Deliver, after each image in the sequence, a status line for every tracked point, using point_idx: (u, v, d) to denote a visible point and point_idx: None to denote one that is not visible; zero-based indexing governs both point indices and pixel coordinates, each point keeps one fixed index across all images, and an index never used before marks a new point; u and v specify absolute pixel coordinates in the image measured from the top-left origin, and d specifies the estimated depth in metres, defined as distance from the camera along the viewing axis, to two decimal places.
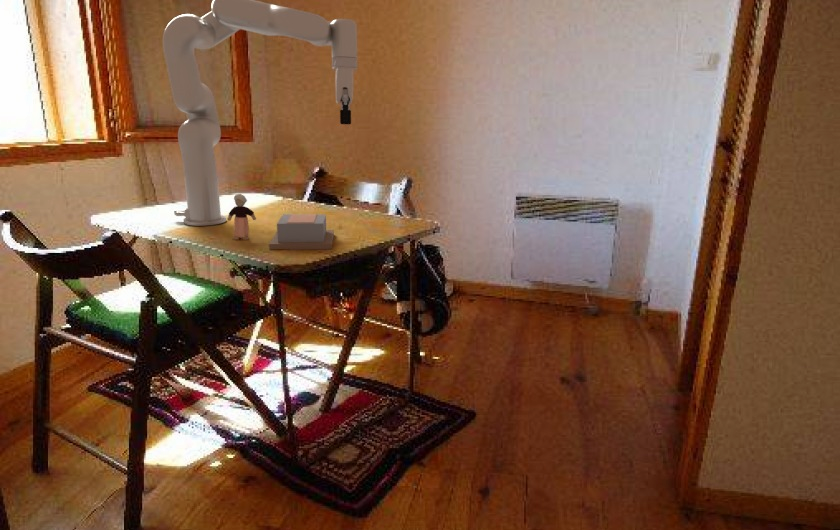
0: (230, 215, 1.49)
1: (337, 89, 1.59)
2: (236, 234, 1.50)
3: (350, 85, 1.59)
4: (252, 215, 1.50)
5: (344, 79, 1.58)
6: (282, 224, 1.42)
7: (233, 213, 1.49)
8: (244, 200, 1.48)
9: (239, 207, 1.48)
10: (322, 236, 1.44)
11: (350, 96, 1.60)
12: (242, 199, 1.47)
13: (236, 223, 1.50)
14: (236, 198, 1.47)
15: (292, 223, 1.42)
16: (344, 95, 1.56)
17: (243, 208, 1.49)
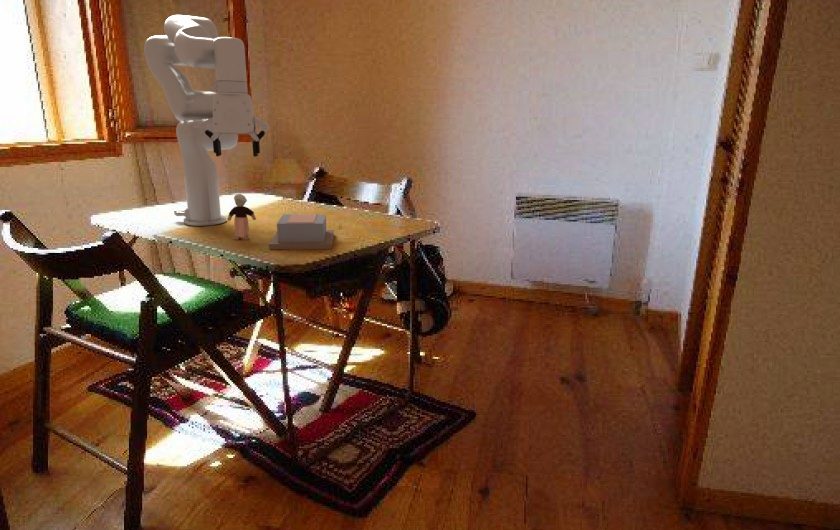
0: (230, 215, 1.49)
1: (251, 118, 1.40)
2: (236, 234, 1.50)
3: None
4: (252, 215, 1.50)
5: (252, 107, 1.42)
6: (282, 224, 1.42)
7: (233, 213, 1.49)
8: (244, 200, 1.48)
9: (239, 207, 1.48)
10: (322, 236, 1.44)
11: None
12: (242, 199, 1.47)
13: (236, 223, 1.50)
14: (236, 198, 1.47)
15: (292, 223, 1.42)
16: (267, 124, 1.43)
17: (243, 208, 1.49)
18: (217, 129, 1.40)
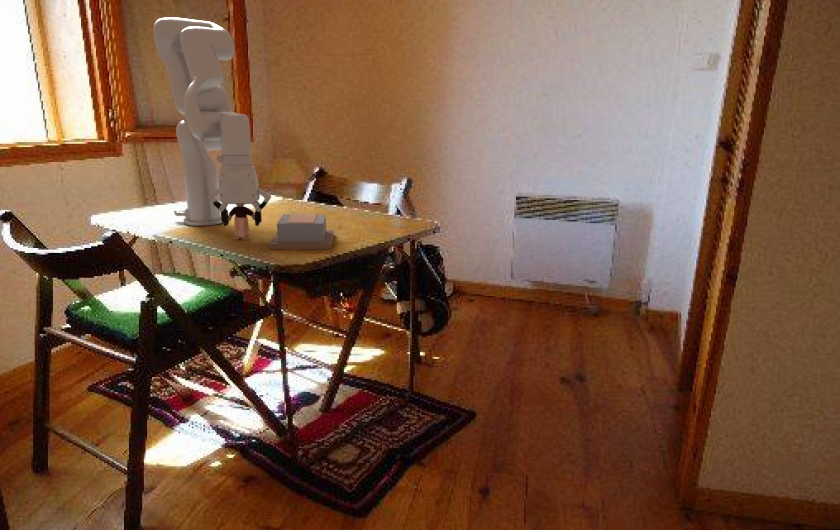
0: (230, 215, 1.49)
1: (256, 189, 1.46)
2: (236, 234, 1.50)
3: None
4: (252, 215, 1.50)
5: (256, 177, 1.47)
6: (282, 224, 1.42)
7: (233, 213, 1.49)
8: None
9: (239, 207, 1.48)
10: (322, 236, 1.44)
11: None
12: None
13: (236, 223, 1.50)
14: None
15: (292, 223, 1.42)
16: (270, 196, 1.49)
17: (243, 208, 1.49)
18: (223, 200, 1.45)
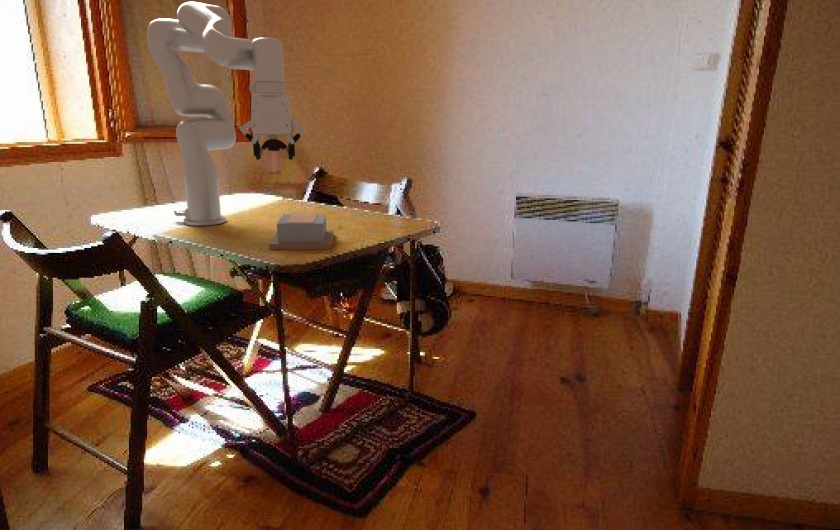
0: (262, 148, 1.42)
1: (289, 119, 1.39)
2: (269, 169, 1.44)
3: None
4: (285, 148, 1.43)
5: (290, 107, 1.40)
6: (282, 224, 1.42)
7: (266, 146, 1.42)
8: None
9: (271, 140, 1.42)
10: (322, 236, 1.44)
11: None
12: None
13: (269, 157, 1.43)
14: None
15: (292, 223, 1.42)
16: (304, 128, 1.42)
17: (276, 141, 1.42)
18: (255, 130, 1.39)
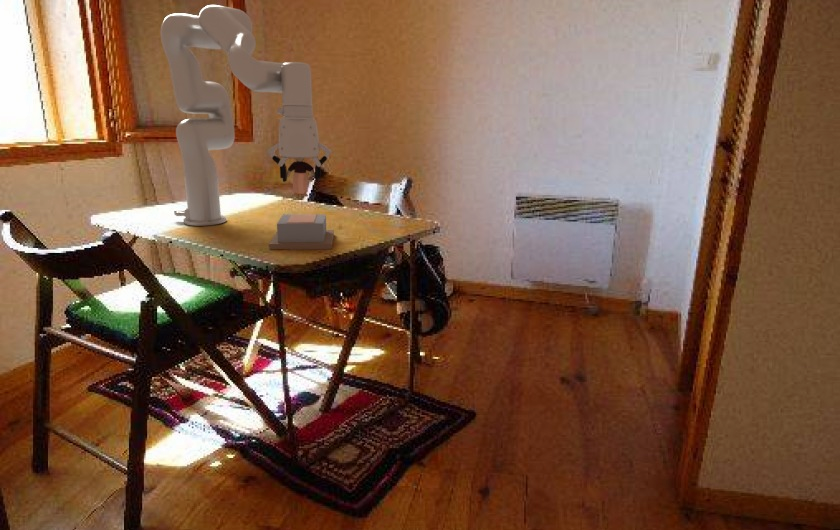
0: (289, 170, 1.43)
1: (317, 142, 1.40)
2: (295, 191, 1.45)
3: None
4: (312, 171, 1.44)
5: (317, 131, 1.41)
6: (282, 224, 1.42)
7: (292, 168, 1.43)
8: None
9: (298, 162, 1.43)
10: (322, 236, 1.44)
11: None
12: None
13: (295, 179, 1.44)
14: None
15: (292, 223, 1.42)
16: (331, 151, 1.43)
17: (303, 163, 1.43)
18: (283, 153, 1.40)
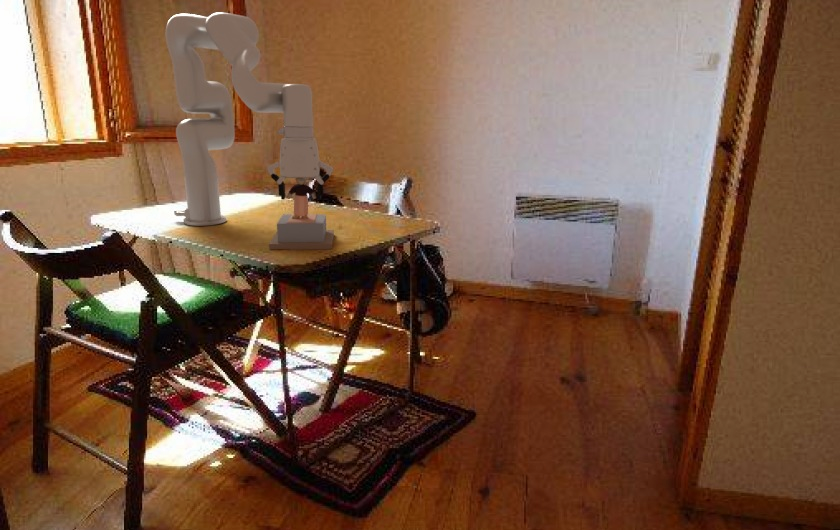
0: (290, 193, 1.45)
1: (317, 162, 1.42)
2: (295, 213, 1.47)
3: None
4: (312, 194, 1.46)
5: None
6: (282, 224, 1.42)
7: (293, 191, 1.45)
8: (305, 178, 1.44)
9: (299, 185, 1.44)
10: (322, 236, 1.44)
11: None
12: None
13: (296, 202, 1.46)
14: None
15: (292, 223, 1.42)
16: (332, 168, 1.44)
17: (304, 186, 1.45)
18: (284, 173, 1.41)
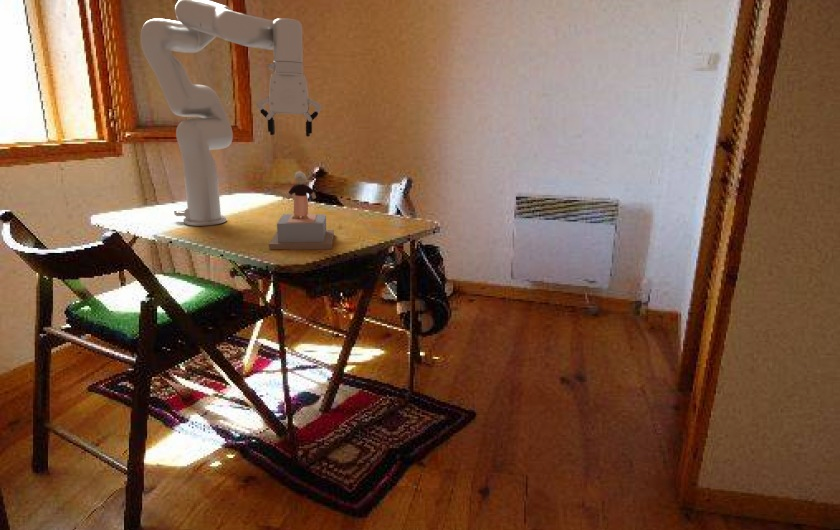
0: (290, 193, 1.45)
1: (306, 99, 1.44)
2: (295, 213, 1.47)
3: None
4: (312, 193, 1.46)
5: None
6: (282, 224, 1.42)
7: (293, 191, 1.45)
8: (305, 178, 1.44)
9: (299, 185, 1.45)
10: (322, 236, 1.44)
11: None
12: (303, 176, 1.43)
13: (296, 202, 1.46)
14: (297, 176, 1.43)
15: (292, 223, 1.42)
16: (321, 105, 1.47)
17: (303, 186, 1.45)
18: (273, 108, 1.44)
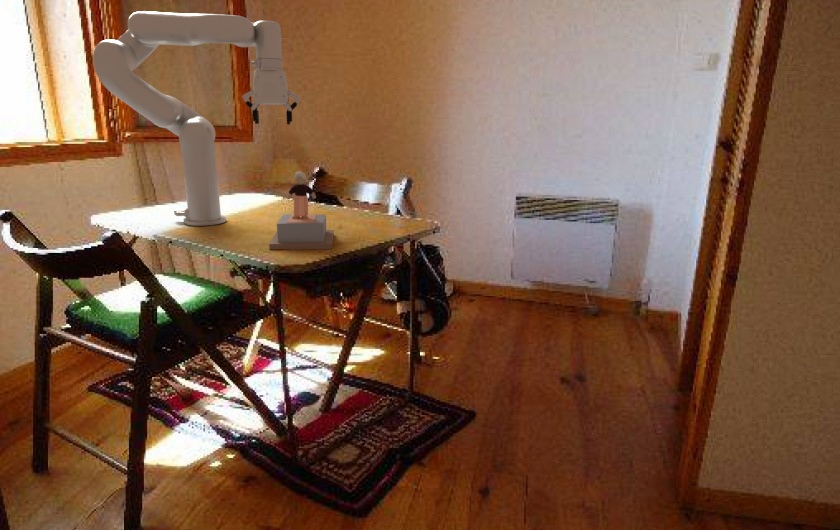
0: (290, 193, 1.45)
1: (286, 91, 1.64)
2: (295, 213, 1.47)
3: None
4: (312, 193, 1.46)
5: (286, 81, 1.65)
6: (282, 224, 1.42)
7: (293, 191, 1.45)
8: (305, 178, 1.44)
9: (299, 185, 1.45)
10: (322, 236, 1.44)
11: None
12: (303, 176, 1.43)
13: (296, 202, 1.46)
14: (297, 176, 1.43)
15: (292, 223, 1.42)
16: (299, 96, 1.66)
17: (303, 186, 1.45)
18: (257, 100, 1.63)
